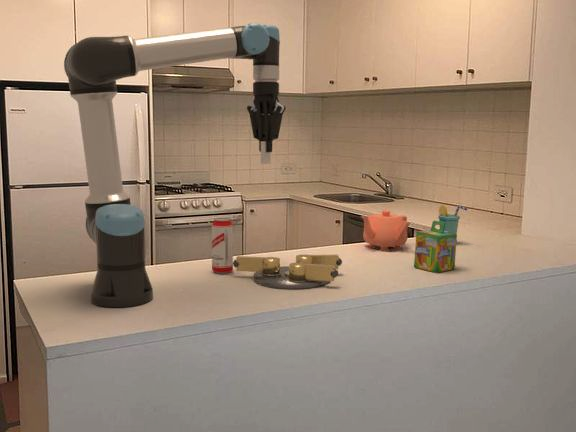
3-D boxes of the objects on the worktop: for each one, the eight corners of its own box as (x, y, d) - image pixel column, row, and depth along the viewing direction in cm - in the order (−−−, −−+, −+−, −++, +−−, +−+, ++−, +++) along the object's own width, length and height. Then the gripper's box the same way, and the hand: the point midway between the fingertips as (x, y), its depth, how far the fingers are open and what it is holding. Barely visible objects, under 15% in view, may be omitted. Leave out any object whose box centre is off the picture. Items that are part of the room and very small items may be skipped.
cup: (471, 246, 232) (473, 205, 230) (457, 248, 228) (459, 207, 225) (442, 240, 244) (444, 201, 241) (428, 242, 239) (429, 202, 237)
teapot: (408, 253, 219) (410, 214, 217) (359, 251, 222) (360, 213, 220) (406, 244, 235) (407, 208, 233) (360, 242, 237) (360, 207, 235)
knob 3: (287, 280, 175) (287, 265, 174) (291, 275, 180) (291, 261, 179) (336, 283, 172) (336, 268, 171) (339, 279, 177) (339, 264, 176)
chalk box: (413, 268, 198) (415, 221, 196) (432, 264, 204) (434, 218, 202) (437, 273, 191) (439, 225, 189) (456, 269, 197) (458, 222, 195)
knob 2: (296, 271, 184) (297, 257, 184) (294, 267, 189) (294, 254, 189) (343, 271, 186) (343, 256, 185) (340, 267, 191) (340, 253, 190)
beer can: (222, 268, 195) (222, 216, 192) (237, 271, 191) (237, 219, 188) (207, 272, 190) (207, 219, 187) (222, 275, 186) (222, 221, 183)
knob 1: (281, 270, 185) (281, 256, 185) (278, 274, 181) (278, 260, 180) (235, 268, 187) (235, 254, 187) (231, 272, 182) (231, 258, 182)
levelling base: (278, 293, 168) (278, 284, 167) (239, 275, 186) (239, 267, 186) (345, 283, 179) (345, 274, 179) (303, 267, 198) (303, 259, 197)
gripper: (240, 81, 184) (240, 163, 188) (275, 80, 176) (274, 165, 180) (257, 82, 190) (257, 161, 194) (292, 81, 182) (291, 164, 186)
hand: (265, 163), depth 187 cm, fingers closed
